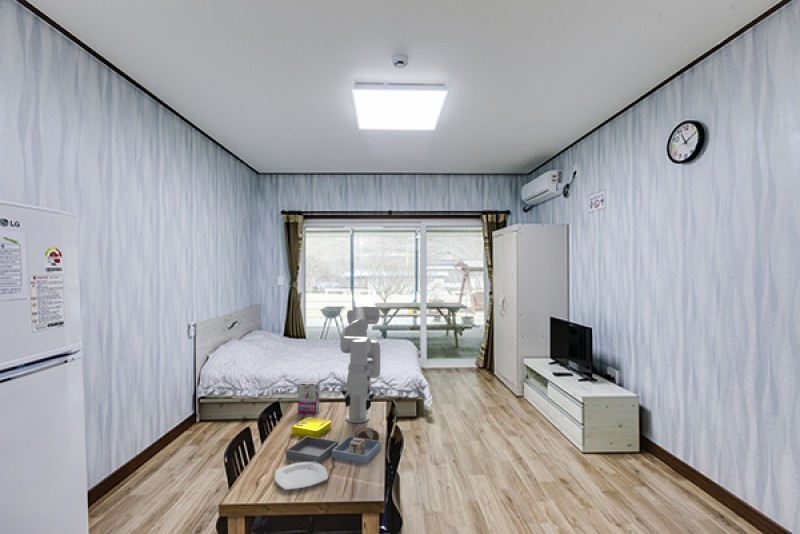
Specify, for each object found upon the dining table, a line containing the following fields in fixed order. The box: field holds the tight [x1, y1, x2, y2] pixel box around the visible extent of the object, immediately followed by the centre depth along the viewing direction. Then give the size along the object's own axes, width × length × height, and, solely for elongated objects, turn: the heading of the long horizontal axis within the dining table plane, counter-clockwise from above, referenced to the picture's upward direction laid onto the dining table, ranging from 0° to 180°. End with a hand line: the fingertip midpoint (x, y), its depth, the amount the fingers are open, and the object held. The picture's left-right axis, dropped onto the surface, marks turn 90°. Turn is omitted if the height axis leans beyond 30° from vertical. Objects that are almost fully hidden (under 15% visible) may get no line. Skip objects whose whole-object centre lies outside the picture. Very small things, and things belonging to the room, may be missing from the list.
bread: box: [354, 427, 380, 441], centre depth 184 cm, size 11×11×5 cm
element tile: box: [291, 416, 332, 438], centre depth 193 cm, size 15×15×5 cm
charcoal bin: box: [285, 436, 339, 464], centre depth 168 cm, size 16×16×4 cm
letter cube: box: [349, 438, 365, 455], centre depth 168 cm, size 5×5×5 cm
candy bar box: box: [297, 381, 320, 415], centre depth 221 cm, size 11×5×16 cm, turn 80°
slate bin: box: [331, 435, 382, 465], centre depth 168 cm, size 16×16×4 cm
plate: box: [274, 461, 329, 491], centre depth 147 cm, size 19×19×2 cm
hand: (357, 407), depth 169 cm, fingers open, 9 cm apart
